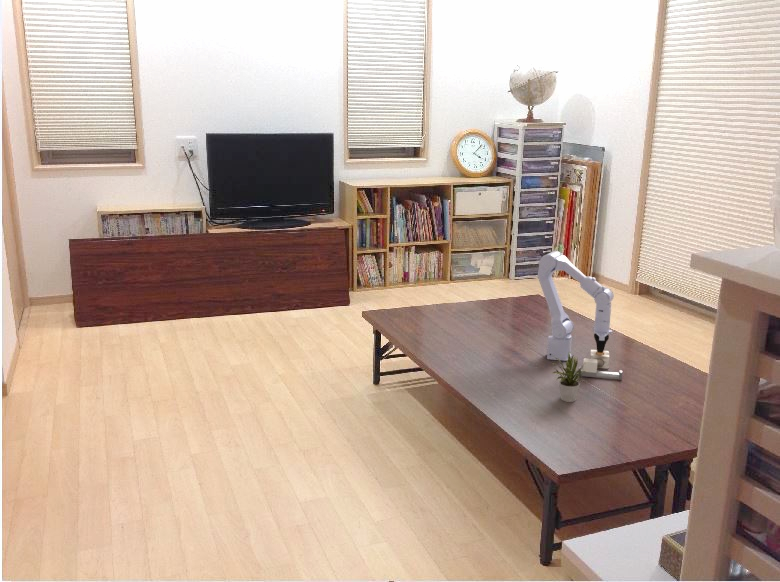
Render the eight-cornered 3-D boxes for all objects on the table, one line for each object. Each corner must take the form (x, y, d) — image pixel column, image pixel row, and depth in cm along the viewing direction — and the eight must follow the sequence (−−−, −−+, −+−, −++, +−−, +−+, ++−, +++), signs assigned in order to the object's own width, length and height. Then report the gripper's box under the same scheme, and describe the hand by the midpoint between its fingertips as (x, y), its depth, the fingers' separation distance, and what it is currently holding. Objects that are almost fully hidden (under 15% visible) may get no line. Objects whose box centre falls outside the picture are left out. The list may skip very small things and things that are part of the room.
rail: (578, 376, 272) (578, 369, 271) (578, 373, 274) (578, 366, 274) (621, 380, 268) (622, 372, 267) (621, 377, 270) (622, 370, 270)
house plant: (543, 389, 260) (545, 347, 255) (581, 389, 259) (583, 347, 255) (550, 405, 246) (552, 361, 242) (590, 406, 245) (593, 362, 241)
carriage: (582, 376, 271) (583, 361, 269) (582, 372, 274) (583, 358, 273) (596, 377, 269) (597, 363, 268) (596, 373, 273) (597, 359, 272)
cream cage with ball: (590, 367, 280) (590, 355, 279) (589, 361, 287) (590, 349, 286) (608, 369, 279) (609, 357, 277) (607, 362, 286) (608, 350, 284)
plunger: (596, 357, 281) (597, 352, 281) (596, 355, 284) (596, 350, 283) (602, 357, 281) (603, 353, 280) (602, 355, 283) (603, 351, 282)
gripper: (613, 325, 270) (611, 359, 274) (612, 314, 284) (610, 346, 287) (594, 324, 272) (592, 357, 276) (594, 313, 286) (592, 345, 289)
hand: (600, 352), depth 282 cm, fingers closed, pressing on plunger
